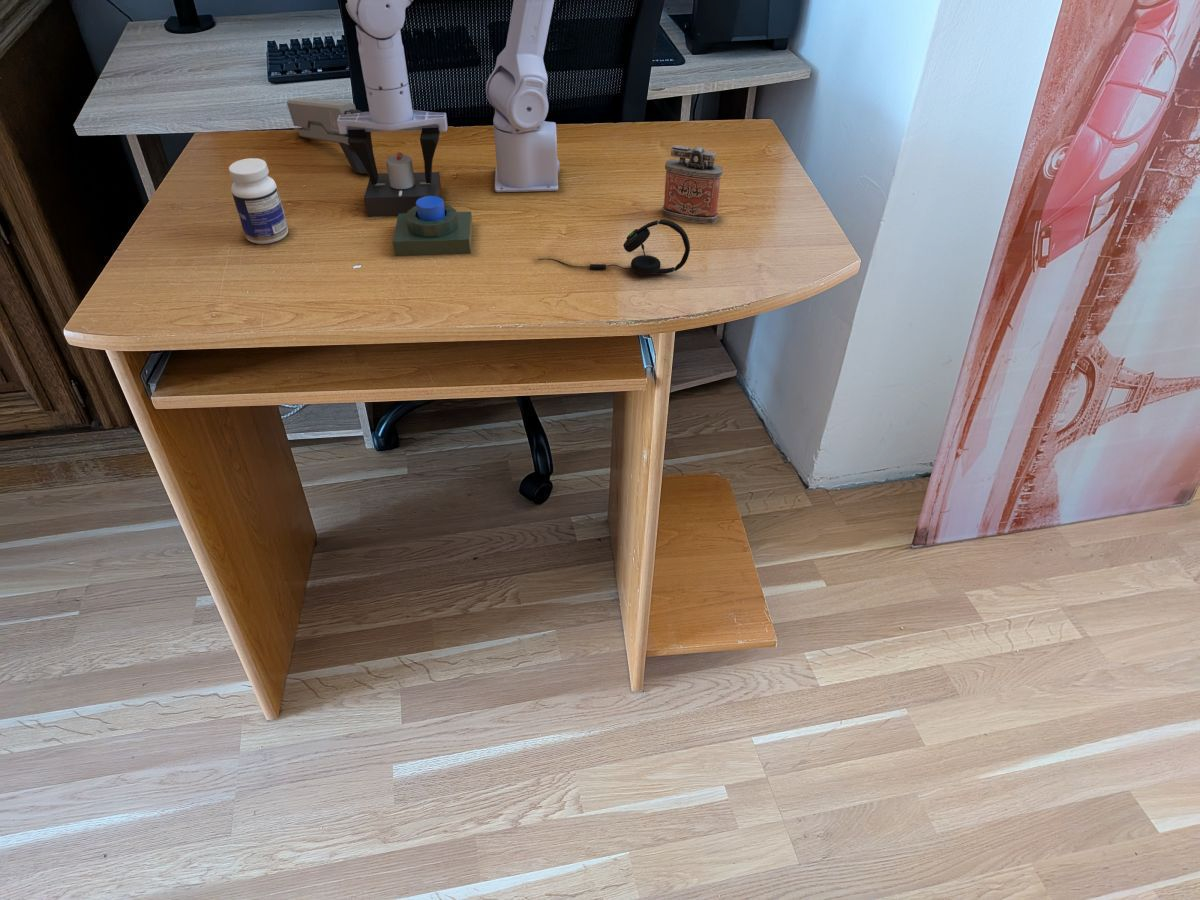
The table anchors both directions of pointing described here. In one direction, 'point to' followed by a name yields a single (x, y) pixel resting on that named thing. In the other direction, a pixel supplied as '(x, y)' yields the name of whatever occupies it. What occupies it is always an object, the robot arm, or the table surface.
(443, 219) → the switch box
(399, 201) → the dimmer console
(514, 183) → the robot arm
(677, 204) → the lighter
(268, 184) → the pill bottle
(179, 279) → the table surface
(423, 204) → the power button
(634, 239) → the headset
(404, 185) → the dimmer knob
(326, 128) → the gun
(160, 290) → the table surface
